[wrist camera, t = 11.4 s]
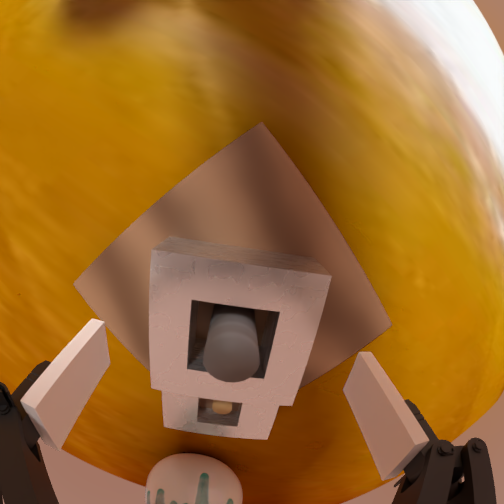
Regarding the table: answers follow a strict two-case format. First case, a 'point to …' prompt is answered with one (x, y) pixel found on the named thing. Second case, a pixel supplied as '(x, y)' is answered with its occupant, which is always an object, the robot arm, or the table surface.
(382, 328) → the post base
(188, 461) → the vase
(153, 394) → the table surface
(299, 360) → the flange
